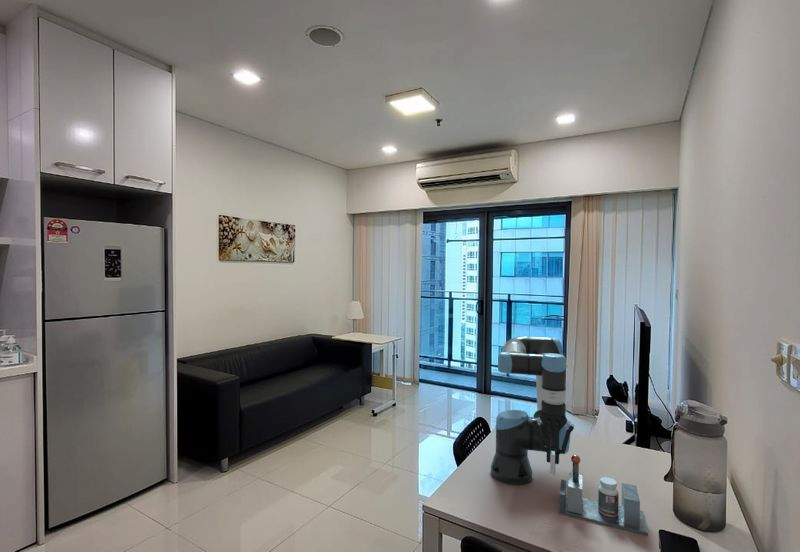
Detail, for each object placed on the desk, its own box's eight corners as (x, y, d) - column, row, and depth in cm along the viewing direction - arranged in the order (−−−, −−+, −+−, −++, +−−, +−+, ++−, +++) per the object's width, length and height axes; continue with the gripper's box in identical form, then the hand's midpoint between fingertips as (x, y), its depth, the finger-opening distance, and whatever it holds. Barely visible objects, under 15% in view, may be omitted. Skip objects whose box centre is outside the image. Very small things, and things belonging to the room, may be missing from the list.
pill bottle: (621, 519, 123) (621, 486, 123) (600, 516, 124) (601, 484, 124) (615, 508, 128) (615, 477, 128) (595, 506, 130) (596, 475, 130)
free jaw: (567, 511, 126) (568, 460, 126) (569, 495, 135) (569, 448, 135) (581, 514, 125) (582, 462, 125) (582, 498, 134) (582, 450, 134)
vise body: (559, 513, 127) (559, 485, 127) (561, 495, 137) (561, 469, 137) (648, 535, 116) (648, 505, 116) (642, 513, 127) (643, 485, 127)
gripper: (531, 401, 132) (530, 473, 132) (574, 407, 127) (573, 482, 127) (534, 395, 139) (533, 463, 139) (575, 401, 134) (574, 471, 134)
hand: (552, 472), depth 133 cm, fingers closed
